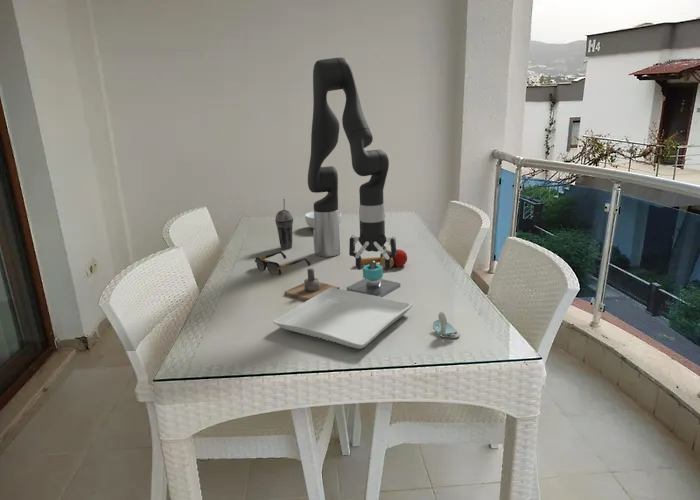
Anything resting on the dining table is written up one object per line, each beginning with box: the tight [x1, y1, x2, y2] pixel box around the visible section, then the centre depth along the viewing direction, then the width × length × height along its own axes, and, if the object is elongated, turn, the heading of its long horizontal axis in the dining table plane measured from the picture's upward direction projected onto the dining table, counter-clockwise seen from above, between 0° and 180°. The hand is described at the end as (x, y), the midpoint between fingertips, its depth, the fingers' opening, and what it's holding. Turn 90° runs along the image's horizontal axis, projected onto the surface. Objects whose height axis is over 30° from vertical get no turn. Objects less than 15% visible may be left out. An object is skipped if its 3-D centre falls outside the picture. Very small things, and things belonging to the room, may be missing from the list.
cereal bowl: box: [304, 211, 342, 229], centre depth 225 cm, size 17×17×7 cm
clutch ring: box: [362, 263, 384, 280], centre depth 150 cm, size 6×6×3 cm
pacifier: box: [432, 311, 461, 339], centre depth 120 cm, size 7×6×6 cm
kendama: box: [361, 249, 408, 270], centre depth 171 cm, size 8×6×18 cm
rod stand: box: [284, 268, 340, 302], centre depth 150 cm, size 12×12×8 cm
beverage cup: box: [274, 198, 294, 250], centre depth 195 cm, size 7×7×20 cm
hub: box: [346, 261, 401, 297], centre depth 151 cm, size 12×12×9 cm
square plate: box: [272, 288, 413, 350], centre depth 129 cm, size 27×27×4 cm
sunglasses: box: [254, 251, 311, 276], centre depth 175 cm, size 14×15×5 cm
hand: (373, 269), depth 150 cm, fingers open, 8 cm apart
